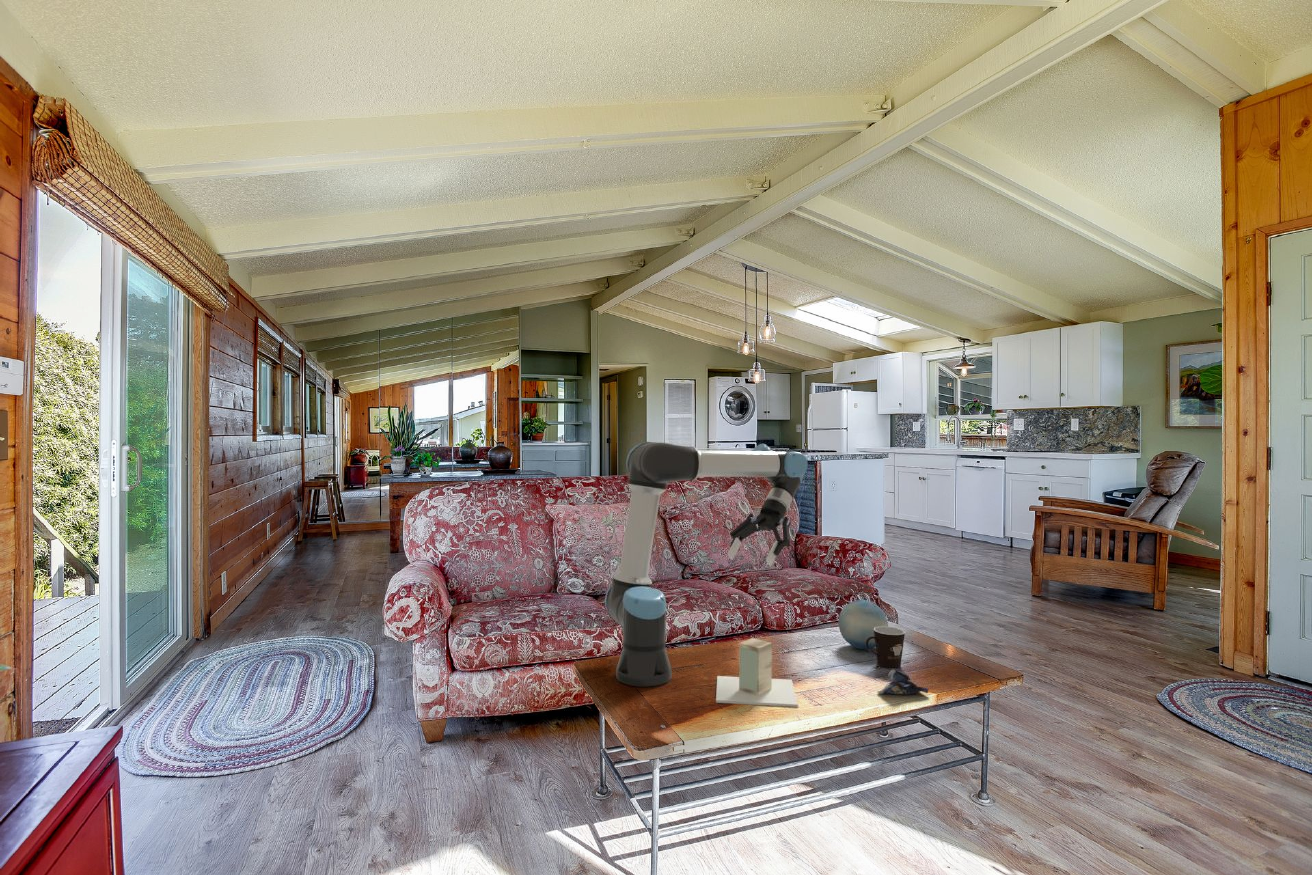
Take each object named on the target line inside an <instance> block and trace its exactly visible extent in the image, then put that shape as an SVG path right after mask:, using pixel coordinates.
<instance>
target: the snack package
mask: <svg viewBox="0 0 1312 875" xmlns="http://www.w3.org/2000/svg"><path fill="white" fill-rule="evenodd" d="M887 677H888V678H889V680H891V681H890V682H888V683H887V684H886V685H885V686H884V688H883V689H881V690H877V691H876V692H877V693H878V694H879V695H880V696H882V695H883V694H894V695H895V694H896V695H912V694H914V693H918V692H919V693H920V692H923V693H926V694H928V693H929V689H928V688H927V687H923V686H918V685H917V684H915V683H914V682H912V681H911V678H910V676H909V675H908V674H907V673H905V672H903V671H901V670H899V669H897V668H896V669H890V671H889V672H888V675H887Z"/></svg>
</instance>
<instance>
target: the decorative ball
mask: <svg viewBox="0 0 1312 875" xmlns="http://www.w3.org/2000/svg"><path fill="white" fill-rule="evenodd" d="M884 626H885V627H889V621H888V618H887V617H886V613H884V611H883V609H882V608H881V607H880V606H878V605H877V604H875V602H872V601H869V600H864V599H863V600H862V599H859V600H853V601H851V602H849V603H848V604H846V605H845V606H844V607H843V608H842V610H841V611H840V613H839V617H838V629H839V632H840V635H841V636H842V638H843V640H845V641H846V643H848V644H849V645H850V646H852V647H853V648H856V649H859V650H868V648H867V647H866V641H867V639H868V638H869V637H871V636H873V637H874V628H875V627H884ZM868 646H869V648H870V649H871V650H872V649H876V646H875V639H870V640H869V642H868Z"/></svg>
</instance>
